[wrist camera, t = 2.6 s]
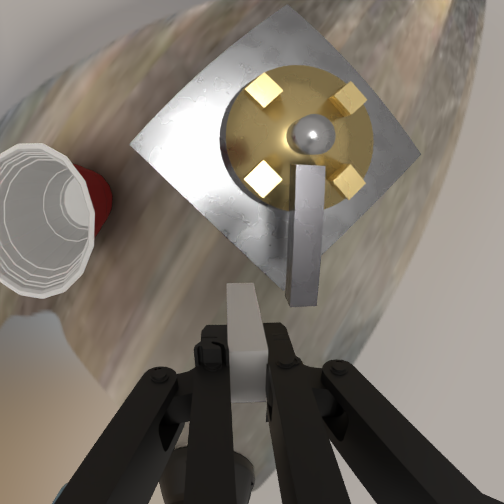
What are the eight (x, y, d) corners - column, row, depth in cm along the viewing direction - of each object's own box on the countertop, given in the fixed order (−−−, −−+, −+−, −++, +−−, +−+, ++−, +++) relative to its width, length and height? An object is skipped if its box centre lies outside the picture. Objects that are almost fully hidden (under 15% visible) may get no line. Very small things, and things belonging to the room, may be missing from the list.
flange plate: (280, 285, 32) (288, 301, 28) (133, 144, 27) (120, 143, 23) (413, 154, 29) (435, 155, 26) (284, 10, 24) (292, -8, 20)
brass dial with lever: (226, 72, 22) (227, 47, 16) (357, 82, 23) (391, 66, 17) (226, 282, 27) (227, 315, 21) (348, 278, 28) (376, 307, 22)
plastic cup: (146, 248, 30) (105, 299, 19) (55, 255, 29) (-9, 301, 18) (135, 136, 27) (81, 125, 15) (41, 155, 26) (-35, 161, 15)
